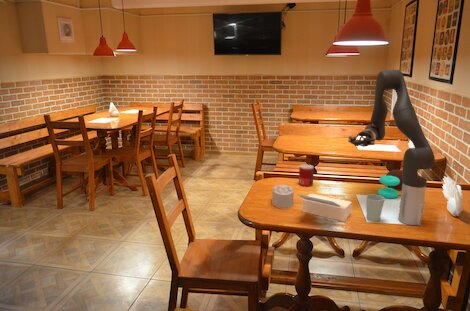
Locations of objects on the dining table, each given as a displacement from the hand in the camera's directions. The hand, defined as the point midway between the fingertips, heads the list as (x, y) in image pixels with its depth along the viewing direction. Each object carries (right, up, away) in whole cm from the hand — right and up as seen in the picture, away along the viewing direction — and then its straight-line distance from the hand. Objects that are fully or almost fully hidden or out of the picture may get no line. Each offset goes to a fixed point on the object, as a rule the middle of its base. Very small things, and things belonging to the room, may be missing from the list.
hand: (356, 143), depth 169 cm
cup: (+7, -34, -3) cm, 35 cm away
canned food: (-15, -22, +42) cm, 50 cm away
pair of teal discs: (+25, -27, +26) cm, 45 cm away
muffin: (+35, -24, +38) cm, 57 cm away
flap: (-16, -27, -3) cm, 31 cm away
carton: (-13, -32, +3) cm, 35 cm away
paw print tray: (-32, -29, +14) cm, 46 cm away
